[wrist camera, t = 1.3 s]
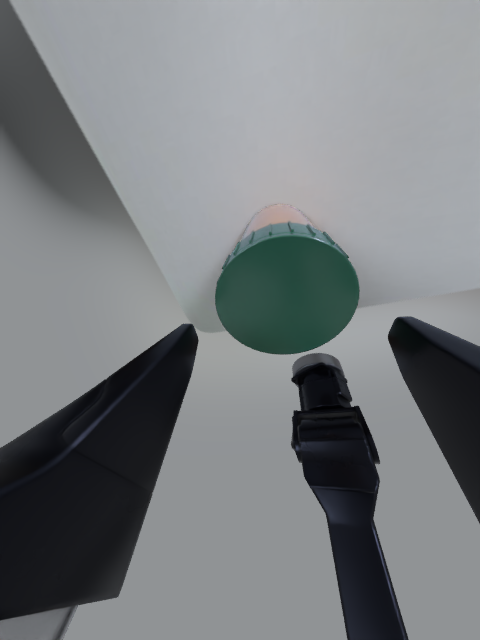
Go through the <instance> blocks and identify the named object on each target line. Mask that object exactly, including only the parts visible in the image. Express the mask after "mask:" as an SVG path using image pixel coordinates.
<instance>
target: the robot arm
mask: <svg viewBox="0 0 480 640" xmlns="http://www.w3.org/2000/svg"><path fill="white" fill-rule="evenodd" d="M388 340H389V343H390V345H391V348H392V351H393V353H394V356H395V358H396V361H397V364H398V366H399V369H400V372H401V374H402V376H403V379H404V381H405V382H406V384H407V386H408V388H409V390H410V392H411V394H412V396H413V398H414V400H415V402H416V403H417V405H418V407H419V409H420V411H421V413H422V415H423V417H424V418H425V420H426V422H427V424H428V426H429V428H430V430H431V432H432V434H433V436H434V438H435V439H436V441H437V443H438V445H439V447H440V449H441V451H442V453H443V455H444V457H445V458H446V460H447V462H448V464H449V466H450V468H451V470H452V472H453V474H454V476H455V477H456V479H457V481H458V483H459V485H460V487H461V489H462V491H463V493H464V494H465V496H466V498H467V500H468V502H469V504H470V506H471V508H472V510H473V512H474V513H475V515H476V517H477V519H478V521H479V523H480V346H477V345H475V344H473V343H470V342H468V341H466V340H464V339H461V338H459V337H457V336H454V335H452V334H450V333H448V332H446V331H443V330H441V329H439V328H436V327H434V326H432V325H430V324H427V323H425V322H423V321H420V320H418V319H416V318H414V317H397V318H396V319H395V320H394V323H393V325H392V327H391V329H390V331H389V334H388ZM197 346H198V336H197V334H196V331H195V328H194V326H193V324H182V325H181V326H179V327H178V328H177V329H175V330H174V331H172V332H171V333H170V334H168V335H167V336H165V337H164V338H163V339H161V340H160V341H158V342H157V343H156V344H154V345H153V346H151V347H150V348H148V349H147V350H146V351H144V352H143V353H141V354H140V355H139V356H137V357H136V358H134V359H133V360H132V361H130V362H129V363H127V364H126V365H125V366H123V367H122V368H120V369H119V370H118V371H116V372H115V373H113V374H112V375H111V376H109V377H108V378H107V379H106V380H104V381H102V382H101V383H99V384H98V385H97V386H96V387H94V388H92V389H91V390H90V391H88V392H87V393H85V394H84V395H82V396H81V397H79V398H78V399H76V400H75V401H73V402H72V403H70V404H69V405H67V406H66V407H64V408H63V409H61V410H60V411H58V412H57V413H55V414H53V415H52V416H50V417H49V418H47V419H46V420H44V421H42V422H41V423H39V424H38V425H36V426H35V427H33V428H31V429H30V430H28V431H27V432H26V433H24V434H22V435H21V436H19V437H17V438H16V439H14V440H13V441H11V442H10V443H8V444H6V445H5V446H3V447H1V448H0V640H63V638H64V636H65V634H66V632H67V629H68V627H69V625H70V622H71V620H72V618H73V616H74V613H75V611H76V609H77V607H78V605H81V604H86V603H92V602H97V601H102V600H107V599H112V598H117V597H118V596H119V594H120V591H121V588H122V585H123V582H124V580H125V576H126V573H127V570H128V567H129V564H130V561H131V558H132V555H133V552H134V549H135V546H136V543H137V540H138V537H139V534H140V530H141V528H142V524H143V521H144V518H145V515H146V512H147V508H148V506H149V503H150V500H151V497H152V492H153V490H154V487H155V484H156V481H157V478H158V475H159V472H160V469H161V466H162V463H163V460H164V456H165V454H166V451H167V448H168V444H169V442H170V439H171V435H172V432H173V429H174V426H175V423H176V420H177V417H178V414H179V411H180V408H181V404H182V402H183V399H184V395H185V393H186V390H187V387H188V383H189V381H190V377H191V374H192V370H193V366H194V360H195V356H196V350H197ZM291 381H292V382H293V383H295V384H296V385H298V388H299V397H300V405H301V411H297V410H296V411H294V416H293V417H292V422H293V433H292V441H291V446H292V448H293V449H294V451H295V452H296V455H297V458H298V461H299V462H300V463H302V466H303V472H304V477H305V479H306V481H307V483H308V484H309V486H310V488H311V489H312V491H313V493H314V494H315V496H316V498H317V500H318V501H319V503H320V504H321V506H322V508H323V510H324V512H325V513H326V517H327V522H328V528H329V534H330V540H331V546H332V552H333V557H334V563H335V569H336V575H337V581H338V587H339V592H340V598H341V604H342V609H343V616H344V622H345V628H346V633H347V639H348V640H408V636H407V633H406V629H405V626H404V623H403V619H402V616H401V613H400V609H399V606H398V602H397V599H396V595H395V592H394V588H393V585H392V582H391V578H390V575H389V572H388V568H387V565H386V561H385V558H384V554H383V551H382V548H381V545H380V541H379V538H378V534H377V531H376V527H375V524H374V520H373V517H374V511H375V505H376V500H377V494H378V488H379V483H380V480H379V476H378V473H377V470H376V467H375V464H380V460H379V456H378V452H377V449H376V446H375V443H374V441H373V438H372V435H371V433H370V430H369V428H368V426H367V424H366V421H365V419H364V417H363V415H362V412H361V410H360V408H359V406H354V407H351V405H350V402H351V401H352V397H351V395H350V392H349V389H348V386H347V379H346V378H345V377H344V376H343V375H341V374H340V373H338V372H337V371H336V370H334V369H332V368H330V367H329V366H327V365H326V364H325V363H323V362H320V363H318V364H316V365H314V366H312V367H310V368H309V369H307V370H305V371H303V372H301V373H299V374H298V375H296V376H294V377H292V378H291Z"/></svg>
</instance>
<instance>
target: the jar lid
mask: <svg viewBox="0 0 480 640" xmlns="http://www.w3.org/2000/svg"><path fill="white" fill-rule="evenodd" d="M347 258H349V257H348V255H347V254H346V253H345V252H344V251H343V250H342V249H341V248H340V247H339V246H338V245H337V244H335V242H334V241H333V240H332V239H331V238H330V237H329V236H328V234H327V233H326V232H323V233H322V232H320V231H319V230H317V229H315V228H313V227H311V225H310V224H307V225H304V224H300V223H291V221H288V223H277V224H271V223H269V225H268V226H266V227H263V228H260V229H258V230H256V231H254V230H253V231H252V232H251V234H250V235H248V236H247V237H245V238H244V239H243V240H242V241H241V242H238V243H237V245H236V247H235V249H234V250H233V252H232V254H231V255H229V256H228V257H227V259H226V261H225V263H224V265H223V267H222V269H223V271H222V273H221V275H220V277H219V279H218V281H217V287H216V294H215V304H216V309H217V313H218V316H219V319H220V320H221V322H222V324H223V326H224V327H225V329H226V330H227V331H228V332H229V333H230V334H231V335H232V336H233V337H234V338H235V339H236V340H238V341H239V342H241V343H242V344H244V345H246V346H247V347H250V348H252V349H254V350H258V351H260V352H265V353H270V354H295V353H301V352H305V351H309V350H312V349H314V348H317V347H319V346H321V345H323V344H325V343H327V342H328V341H330V340H331V339H333V338H334V337H336V335H338V334H339V333H340V332H341V331H342V330H343V329H344V328H345V327H346V326H347V324H348V323H349V322H350V320H351V318H352V317H353V315H354V313H355V310H356V308H357V305H358V300H359V282H358V278H357V275H356V272H355V270H354V268H353V266H352V264H351V262H350V261H349V260H348V259H347Z"/></svg>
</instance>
